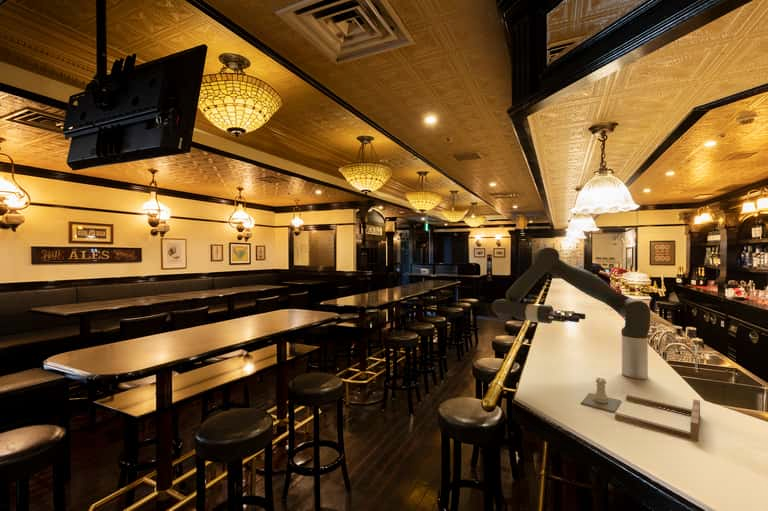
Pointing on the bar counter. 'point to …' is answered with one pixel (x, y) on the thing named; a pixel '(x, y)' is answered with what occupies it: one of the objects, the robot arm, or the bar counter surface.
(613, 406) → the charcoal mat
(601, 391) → the rook chess piece
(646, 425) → the walnut lane
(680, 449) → the bar counter surface
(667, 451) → the bar counter surface
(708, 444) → the bar counter surface
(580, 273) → the robot arm
